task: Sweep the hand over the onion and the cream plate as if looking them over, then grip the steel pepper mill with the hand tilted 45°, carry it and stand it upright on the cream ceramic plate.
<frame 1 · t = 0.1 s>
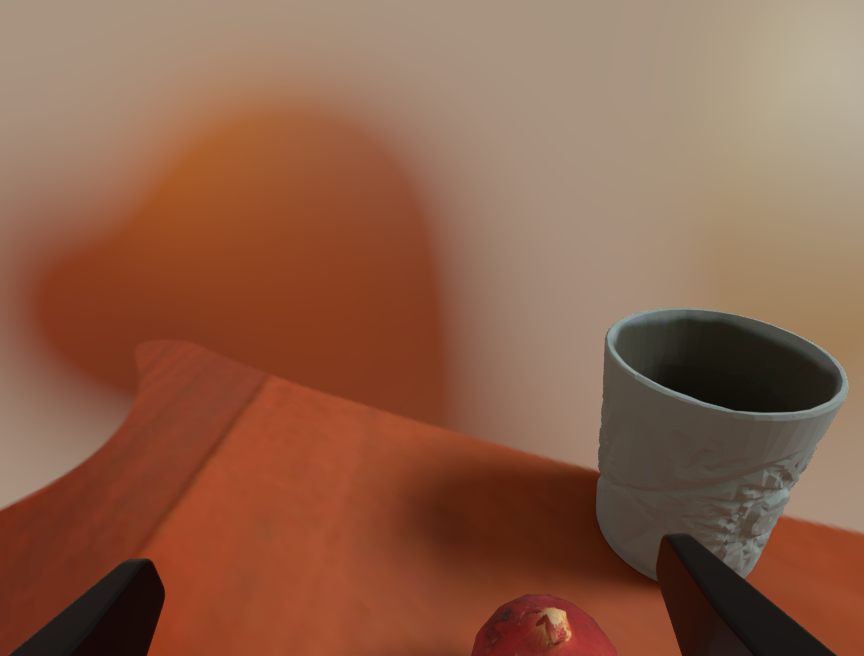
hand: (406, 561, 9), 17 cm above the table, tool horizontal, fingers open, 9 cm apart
grey-blue cup: (675, 530, 29), on the table
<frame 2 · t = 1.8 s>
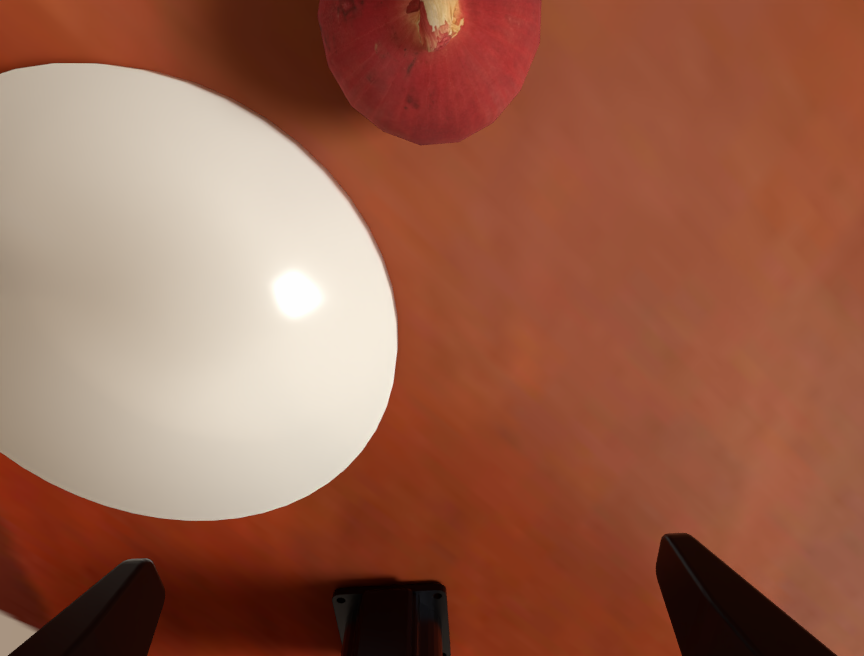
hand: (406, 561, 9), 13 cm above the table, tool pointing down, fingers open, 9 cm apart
onion: (429, 41, 17), on the table
plate: (165, 328, 21), on the table
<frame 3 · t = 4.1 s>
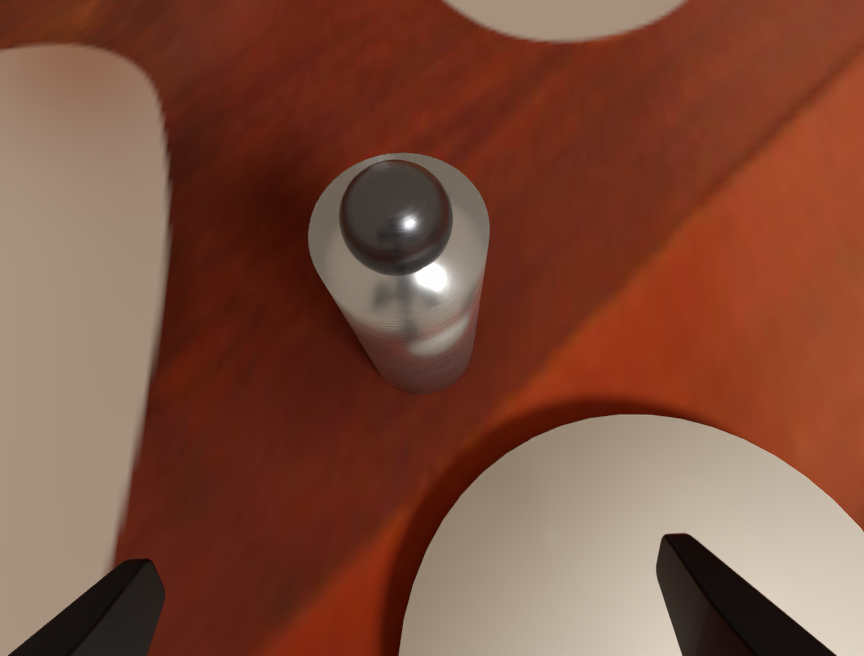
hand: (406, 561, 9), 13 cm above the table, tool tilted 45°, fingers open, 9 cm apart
pepper mill: (421, 343, 24), on the table
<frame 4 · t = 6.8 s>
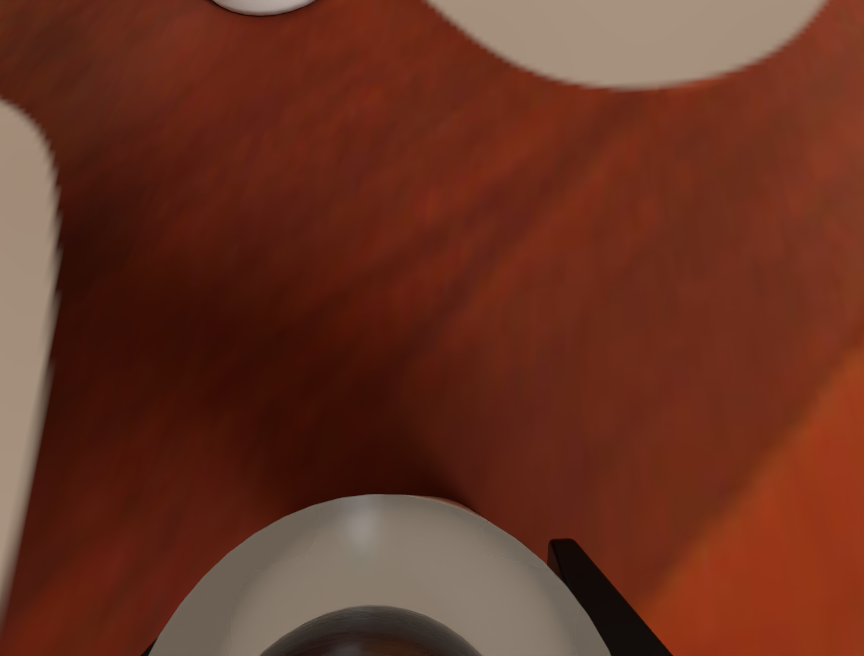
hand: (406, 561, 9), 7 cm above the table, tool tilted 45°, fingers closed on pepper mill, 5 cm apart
pepper mill: (427, 583, 15), on the table, touching gripper
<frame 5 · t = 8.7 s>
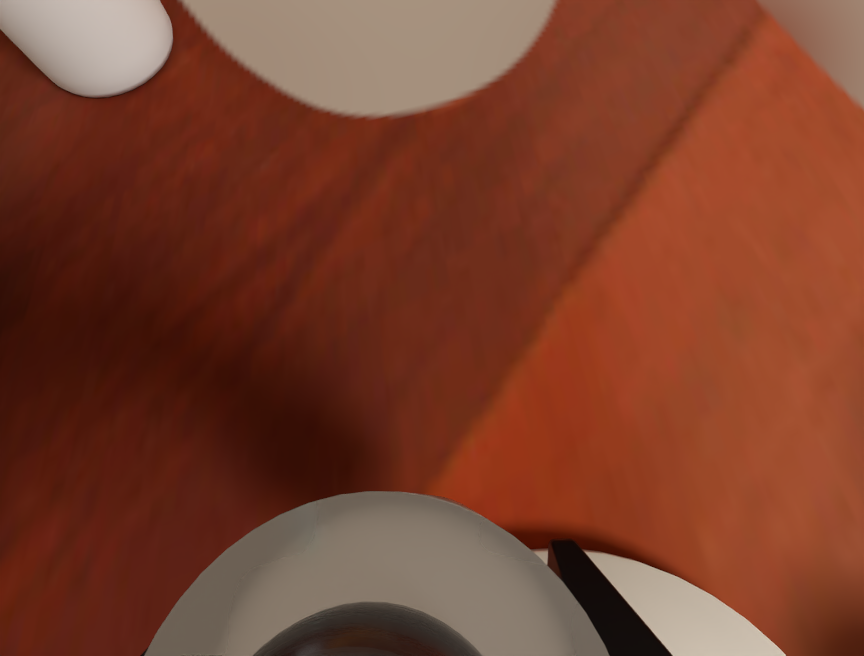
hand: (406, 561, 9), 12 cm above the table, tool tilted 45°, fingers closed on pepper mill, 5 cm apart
pepper mill: (427, 582, 15), point 5 cm above the table, touching gripper
milk bottle: (116, 53, 29), on the table
when the fingers open (9 cm above the table, at t = 10.4 s): pepper mill drops 1 cm, resting on plate.
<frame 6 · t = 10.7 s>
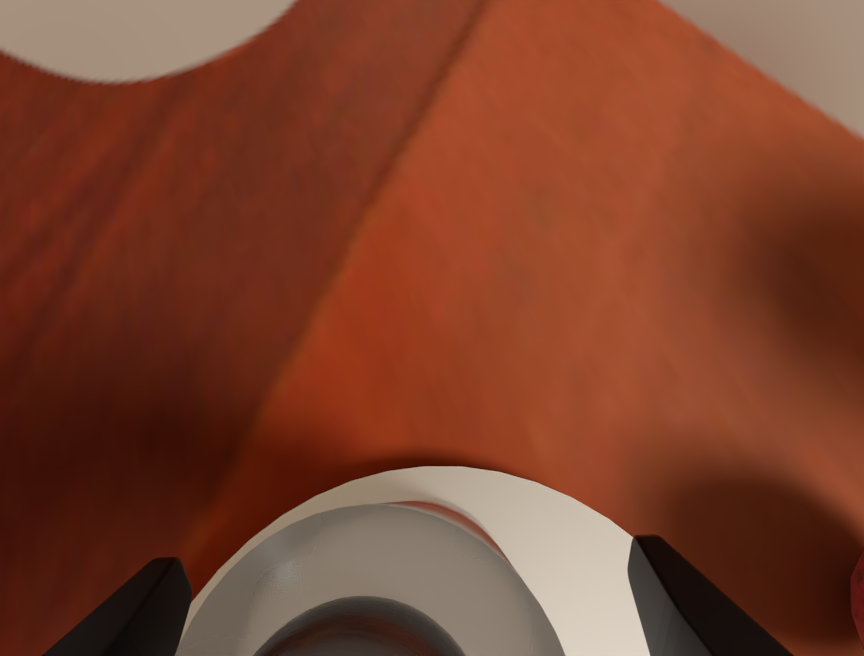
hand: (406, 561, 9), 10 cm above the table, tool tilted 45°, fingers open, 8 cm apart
pepper mill: (428, 580, 16), point 1 cm above the table, touching plate
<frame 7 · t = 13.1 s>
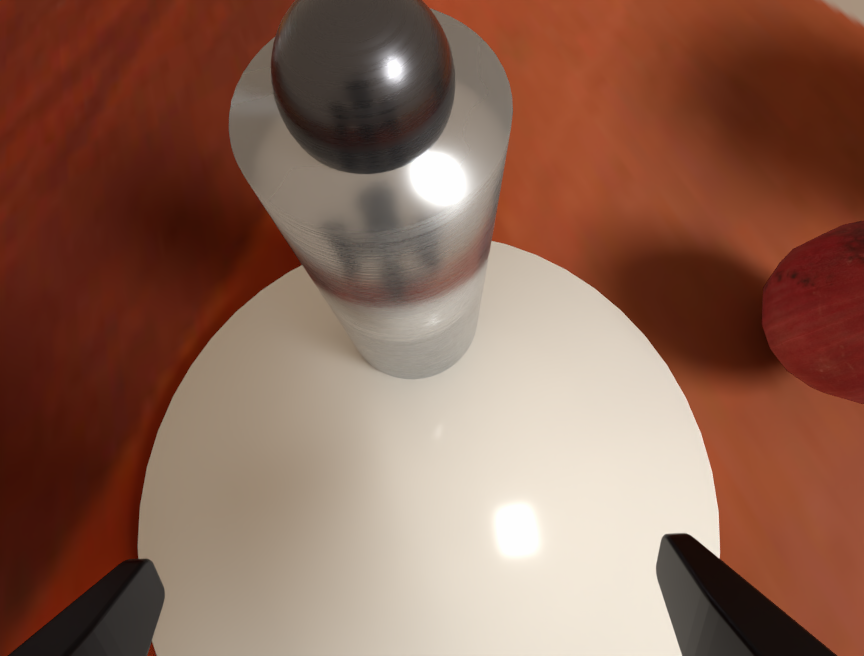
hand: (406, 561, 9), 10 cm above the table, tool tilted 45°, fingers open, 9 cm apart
pepper mill: (413, 316, 19), point 1 cm above the table, touching plate
onion: (789, 344, 20), on the table
plate: (425, 488, 18), on the table
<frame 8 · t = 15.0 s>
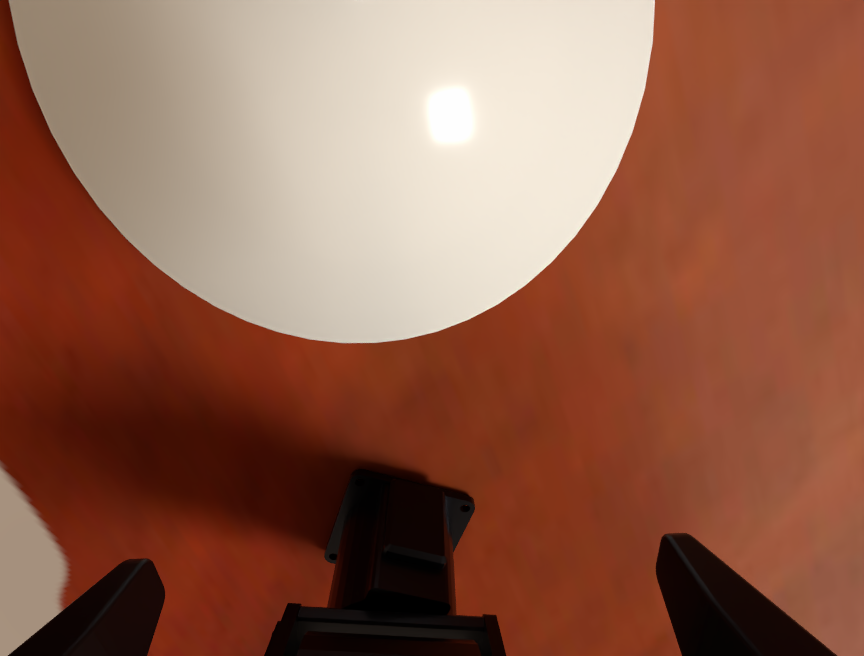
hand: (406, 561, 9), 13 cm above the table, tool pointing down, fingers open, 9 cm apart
plate: (343, 68, 17), on the table
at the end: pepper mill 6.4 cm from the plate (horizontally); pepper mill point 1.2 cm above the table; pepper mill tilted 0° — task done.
